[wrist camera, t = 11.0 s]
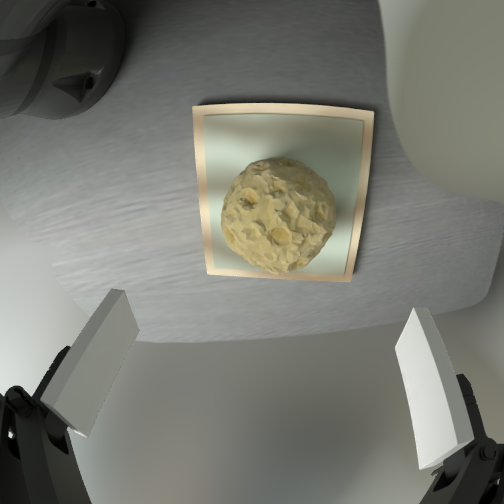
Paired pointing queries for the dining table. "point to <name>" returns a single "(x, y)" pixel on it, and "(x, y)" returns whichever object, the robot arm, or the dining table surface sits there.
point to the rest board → (292, 147)
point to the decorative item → (278, 214)
